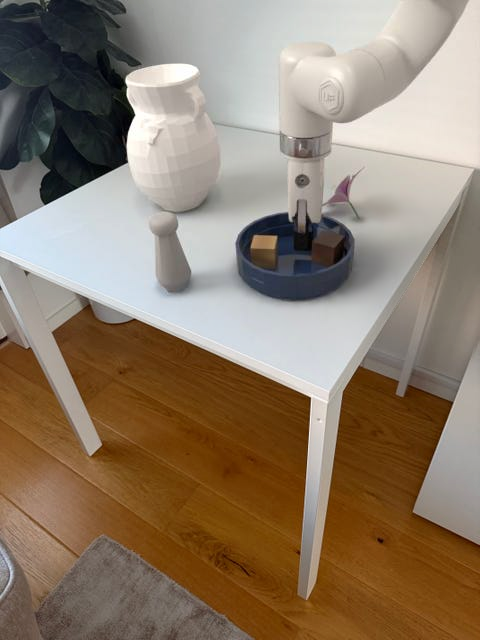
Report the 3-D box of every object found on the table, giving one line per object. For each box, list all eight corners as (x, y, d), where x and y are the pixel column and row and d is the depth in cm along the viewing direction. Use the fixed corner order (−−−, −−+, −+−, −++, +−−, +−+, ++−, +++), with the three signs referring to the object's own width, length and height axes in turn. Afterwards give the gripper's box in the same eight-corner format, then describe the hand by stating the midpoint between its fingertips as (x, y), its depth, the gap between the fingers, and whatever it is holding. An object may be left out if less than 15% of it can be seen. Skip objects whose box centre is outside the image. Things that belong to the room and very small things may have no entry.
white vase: (242, 190, 104) (232, 63, 87) (189, 231, 93) (167, 94, 76) (175, 174, 112) (155, 56, 96) (120, 210, 101) (86, 82, 84)
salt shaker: (172, 271, 83) (159, 203, 74) (199, 280, 81) (189, 210, 72) (151, 290, 79) (134, 220, 71) (179, 299, 77) (165, 229, 68)
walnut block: (343, 256, 82) (344, 235, 79) (333, 268, 79) (334, 247, 77) (321, 250, 84) (322, 230, 81) (311, 261, 81) (311, 241, 79)
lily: (361, 201, 99) (341, 159, 95) (395, 203, 88) (375, 156, 84) (315, 234, 97) (293, 193, 94) (344, 240, 87) (321, 194, 83)
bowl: (352, 237, 87) (354, 213, 84) (351, 305, 73) (354, 279, 70) (248, 234, 90) (246, 210, 87) (228, 298, 76) (225, 272, 73)
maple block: (277, 255, 83) (277, 235, 81) (275, 269, 80) (274, 249, 78) (255, 254, 84) (254, 234, 81) (251, 268, 81) (250, 248, 78)
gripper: (329, 163, 64) (323, 275, 76) (333, 122, 74) (327, 226, 87) (273, 163, 65) (276, 273, 77) (285, 122, 76) (286, 224, 88)
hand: (303, 248), depth 82 cm, fingers closed
